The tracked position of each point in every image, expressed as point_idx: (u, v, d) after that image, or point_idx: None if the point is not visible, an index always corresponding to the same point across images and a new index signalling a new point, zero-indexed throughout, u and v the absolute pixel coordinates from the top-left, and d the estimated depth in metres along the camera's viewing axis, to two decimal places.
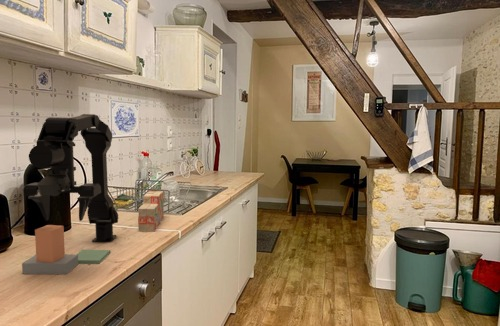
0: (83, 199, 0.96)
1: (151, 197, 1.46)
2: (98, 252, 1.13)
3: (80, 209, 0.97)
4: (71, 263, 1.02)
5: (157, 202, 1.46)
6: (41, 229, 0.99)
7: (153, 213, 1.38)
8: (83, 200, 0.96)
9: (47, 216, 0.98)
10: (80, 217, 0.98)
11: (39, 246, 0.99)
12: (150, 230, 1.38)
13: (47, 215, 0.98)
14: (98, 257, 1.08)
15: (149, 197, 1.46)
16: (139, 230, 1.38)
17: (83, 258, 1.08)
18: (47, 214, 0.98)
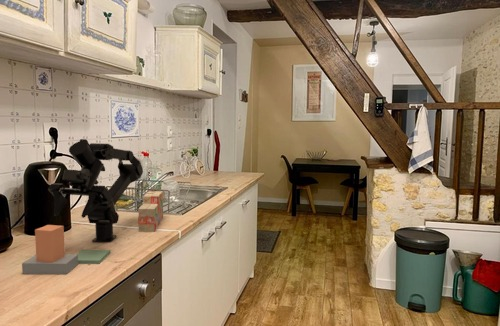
0: (93, 194, 1.09)
1: (151, 197, 1.46)
2: (98, 252, 1.13)
3: (86, 205, 1.09)
4: (71, 263, 1.02)
5: (157, 202, 1.46)
6: (41, 229, 0.99)
7: (153, 213, 1.37)
8: (92, 195, 1.09)
9: (56, 211, 1.10)
10: (83, 213, 1.08)
11: (39, 246, 0.99)
12: (150, 230, 1.38)
13: (57, 211, 1.10)
14: (98, 257, 1.08)
15: (149, 197, 1.46)
16: (139, 230, 1.38)
17: (83, 258, 1.08)
18: (57, 210, 1.10)
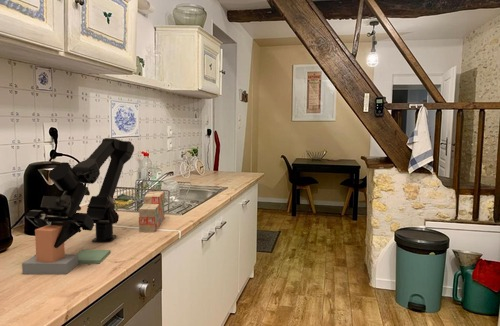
0: (67, 222, 1.01)
1: (152, 197, 1.45)
2: (98, 252, 1.13)
3: (60, 234, 1.00)
4: (71, 263, 1.02)
5: (158, 202, 1.46)
6: (41, 229, 0.99)
7: (154, 213, 1.37)
8: (67, 224, 1.01)
9: None
10: (56, 243, 1.00)
11: (39, 246, 0.99)
12: (151, 231, 1.37)
13: None
14: (98, 257, 1.08)
15: (150, 197, 1.45)
16: (140, 231, 1.37)
17: (83, 258, 1.08)
18: None
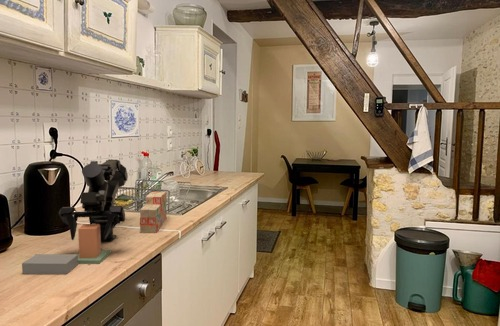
0: (112, 215, 1.12)
1: (153, 198, 1.44)
2: None
3: (107, 226, 1.11)
4: (71, 263, 1.02)
5: (159, 203, 1.45)
6: (84, 228, 1.07)
7: (155, 214, 1.36)
8: (112, 216, 1.12)
9: (73, 235, 1.08)
10: (105, 234, 1.10)
11: (82, 244, 1.07)
12: (152, 231, 1.37)
13: (73, 235, 1.09)
14: (98, 257, 1.08)
15: (151, 198, 1.44)
16: (141, 231, 1.36)
17: (83, 258, 1.08)
18: (74, 234, 1.09)
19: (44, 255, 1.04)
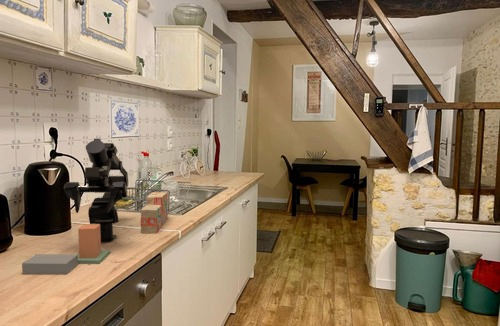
0: (115, 189, 1.16)
1: (154, 198, 1.44)
2: None
3: (110, 200, 1.15)
4: (71, 263, 1.02)
5: (160, 203, 1.44)
6: (84, 228, 1.07)
7: (155, 214, 1.36)
8: (115, 191, 1.16)
9: (78, 209, 1.13)
10: (108, 207, 1.14)
11: (82, 244, 1.07)
12: (152, 232, 1.36)
13: (78, 208, 1.13)
14: (98, 257, 1.08)
15: (152, 198, 1.44)
16: (141, 231, 1.36)
17: (83, 258, 1.08)
18: (78, 207, 1.13)
19: (44, 255, 1.04)
